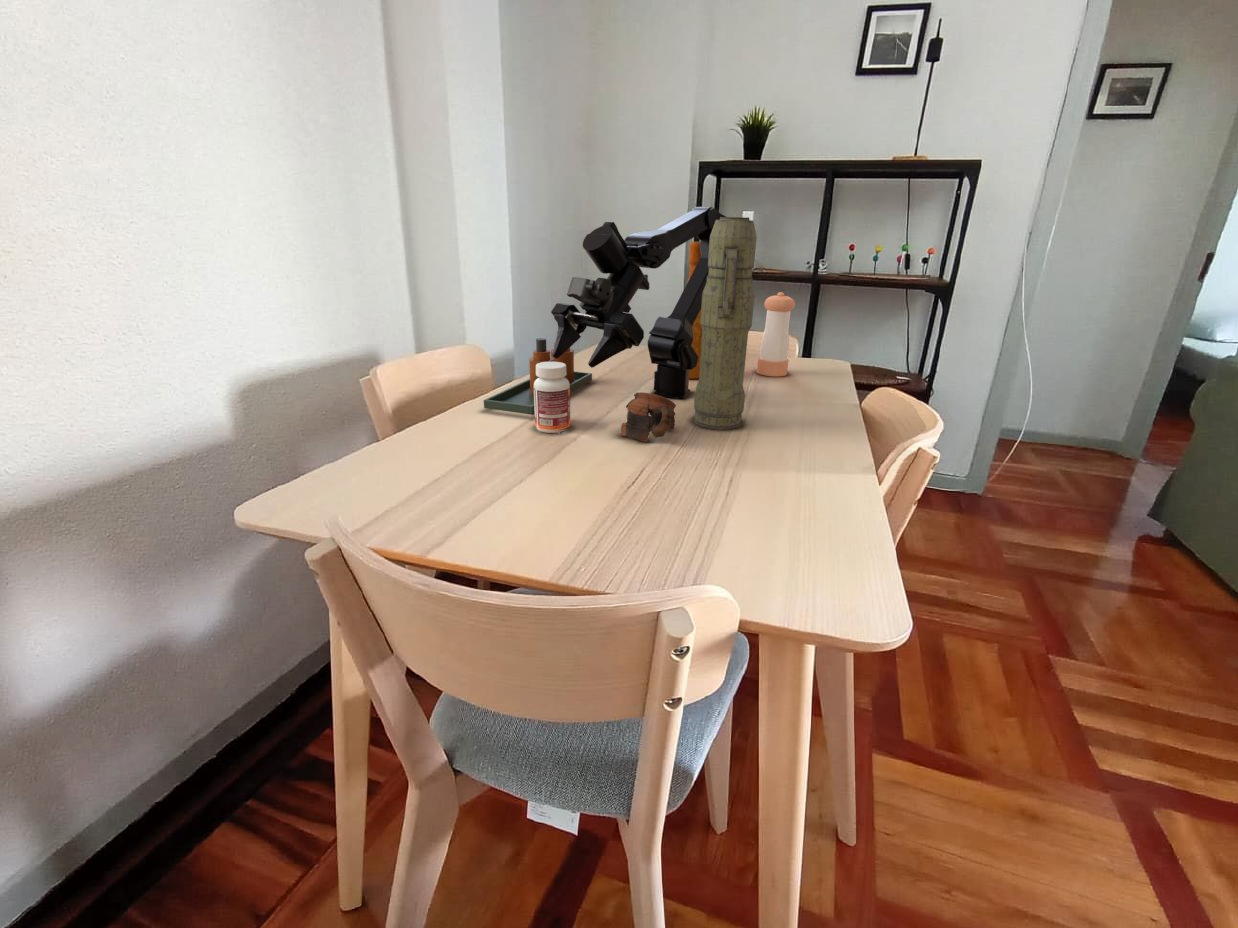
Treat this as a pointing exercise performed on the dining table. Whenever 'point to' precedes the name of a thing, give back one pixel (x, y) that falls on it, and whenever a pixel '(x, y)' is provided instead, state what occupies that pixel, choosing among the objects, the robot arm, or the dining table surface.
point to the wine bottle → (696, 327)
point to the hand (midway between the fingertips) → (571, 361)
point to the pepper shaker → (775, 336)
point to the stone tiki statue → (725, 324)
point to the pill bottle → (551, 397)
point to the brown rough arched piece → (642, 422)
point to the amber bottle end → (567, 363)
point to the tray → (526, 396)
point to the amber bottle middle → (538, 360)
